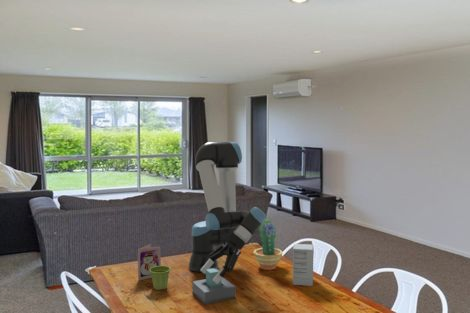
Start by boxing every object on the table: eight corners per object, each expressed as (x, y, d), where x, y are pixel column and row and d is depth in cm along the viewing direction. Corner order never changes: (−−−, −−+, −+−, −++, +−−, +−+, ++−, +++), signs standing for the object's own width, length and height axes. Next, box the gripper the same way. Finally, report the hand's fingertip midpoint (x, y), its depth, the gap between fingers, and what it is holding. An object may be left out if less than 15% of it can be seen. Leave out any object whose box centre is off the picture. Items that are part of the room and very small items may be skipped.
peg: (206, 292, 183) (205, 269, 182) (216, 290, 185) (216, 267, 184) (210, 296, 178) (210, 273, 178) (221, 294, 181) (221, 271, 180)
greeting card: (139, 281, 200) (138, 250, 198) (133, 276, 206) (132, 246, 205) (161, 276, 206) (161, 246, 205) (155, 272, 212) (155, 242, 211)
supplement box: (312, 286, 191) (313, 249, 190) (292, 285, 193) (292, 248, 192) (313, 279, 200) (313, 244, 199) (293, 277, 202) (293, 243, 201)
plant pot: (174, 285, 194) (174, 266, 193) (164, 292, 185) (164, 273, 185) (156, 282, 197) (156, 264, 196) (145, 290, 188) (145, 271, 188)
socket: (192, 292, 185) (192, 281, 185) (221, 286, 191) (221, 276, 191) (204, 304, 172) (204, 292, 172) (235, 297, 179) (235, 286, 178)
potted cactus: (248, 269, 214) (248, 221, 212) (258, 260, 228) (258, 215, 227) (278, 273, 208) (277, 223, 207) (286, 264, 222) (286, 217, 221)
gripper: (258, 250, 176) (226, 291, 171) (232, 236, 198) (203, 273, 193) (247, 239, 173) (214, 281, 168) (222, 226, 196) (192, 263, 190)
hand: (208, 277), depth 180 cm, fingers open, 13 cm apart
